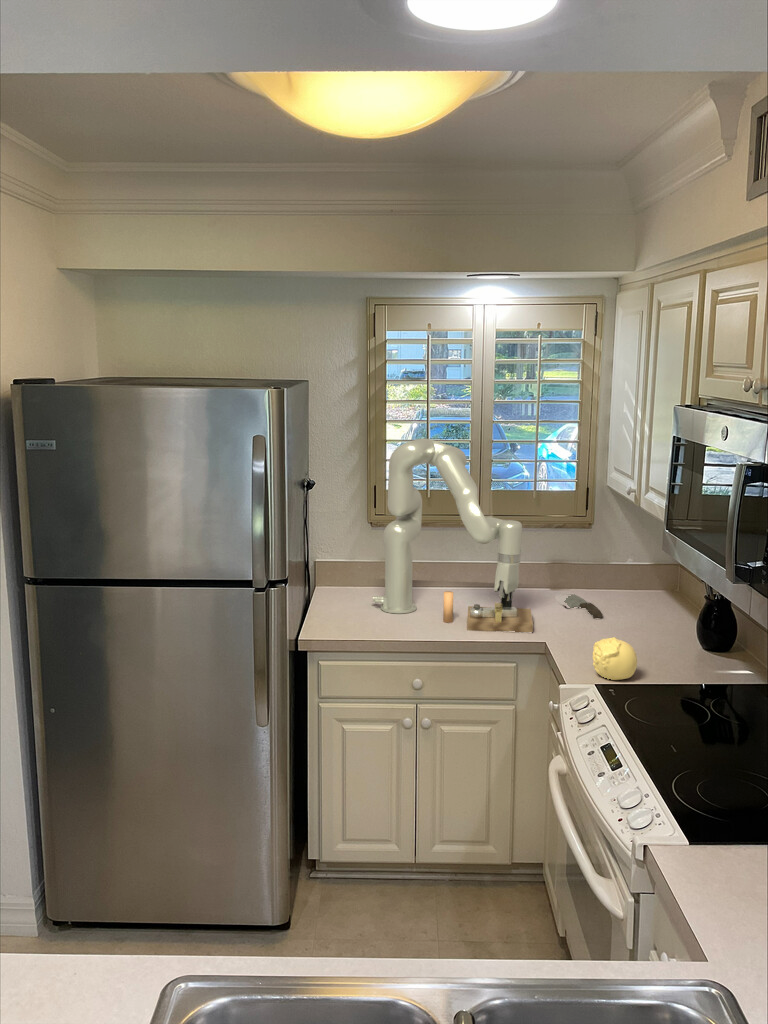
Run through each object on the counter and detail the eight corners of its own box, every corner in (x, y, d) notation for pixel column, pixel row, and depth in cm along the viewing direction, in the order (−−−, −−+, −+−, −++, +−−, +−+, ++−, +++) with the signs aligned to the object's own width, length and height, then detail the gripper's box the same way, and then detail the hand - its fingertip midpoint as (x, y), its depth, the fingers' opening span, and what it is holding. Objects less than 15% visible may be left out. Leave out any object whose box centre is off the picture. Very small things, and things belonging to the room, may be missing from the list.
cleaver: (609, 619, 283) (609, 613, 283) (582, 621, 281) (582, 614, 281) (573, 596, 312) (574, 591, 311) (549, 598, 310) (549, 592, 310)
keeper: (494, 621, 269) (494, 608, 269) (494, 615, 276) (494, 602, 275) (502, 622, 269) (502, 608, 268) (501, 616, 275) (502, 603, 275)
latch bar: (471, 618, 272) (471, 611, 272) (468, 614, 277) (469, 607, 276) (517, 617, 274) (517, 610, 273) (514, 613, 278) (514, 606, 277)
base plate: (466, 630, 270) (467, 609, 269) (468, 614, 287) (468, 595, 286) (532, 633, 268) (533, 612, 266) (530, 617, 284) (530, 597, 283)
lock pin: (443, 622, 278) (443, 593, 276) (443, 619, 281) (444, 591, 279) (452, 623, 278) (453, 594, 276) (453, 620, 281) (453, 591, 279)
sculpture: (587, 668, 237) (588, 632, 235) (629, 668, 237) (631, 632, 235) (597, 684, 226) (598, 645, 224) (641, 684, 226) (643, 646, 224)
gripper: (507, 552, 284) (504, 604, 287) (488, 560, 271) (486, 614, 274) (528, 555, 280) (525, 608, 283) (510, 564, 267) (507, 619, 271)
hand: (505, 611), depth 279 cm, fingers closed
